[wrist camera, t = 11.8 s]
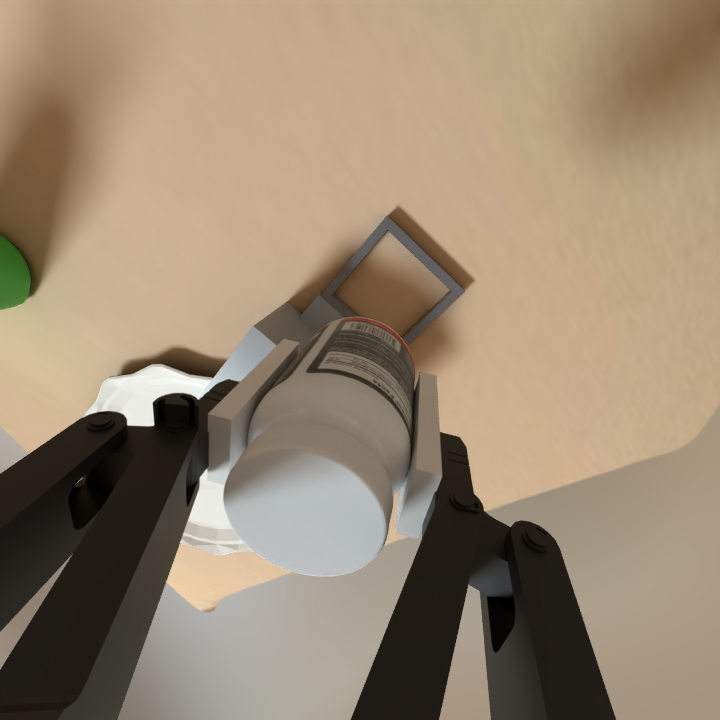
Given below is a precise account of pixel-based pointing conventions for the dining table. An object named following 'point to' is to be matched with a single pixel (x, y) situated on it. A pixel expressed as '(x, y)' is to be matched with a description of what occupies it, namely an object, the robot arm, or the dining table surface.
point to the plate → (136, 404)
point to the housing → (327, 311)
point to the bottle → (12, 276)
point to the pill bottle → (327, 452)
